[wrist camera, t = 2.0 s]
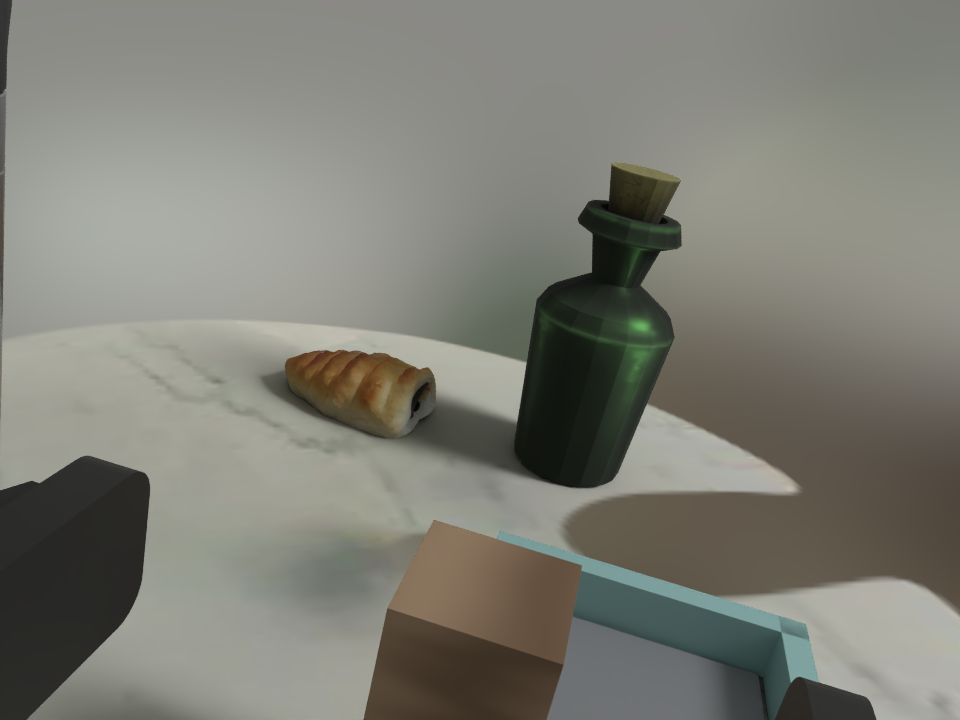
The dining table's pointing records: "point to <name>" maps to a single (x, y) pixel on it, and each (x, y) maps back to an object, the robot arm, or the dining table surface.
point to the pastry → (364, 389)
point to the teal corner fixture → (669, 650)
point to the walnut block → (474, 632)
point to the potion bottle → (599, 338)
